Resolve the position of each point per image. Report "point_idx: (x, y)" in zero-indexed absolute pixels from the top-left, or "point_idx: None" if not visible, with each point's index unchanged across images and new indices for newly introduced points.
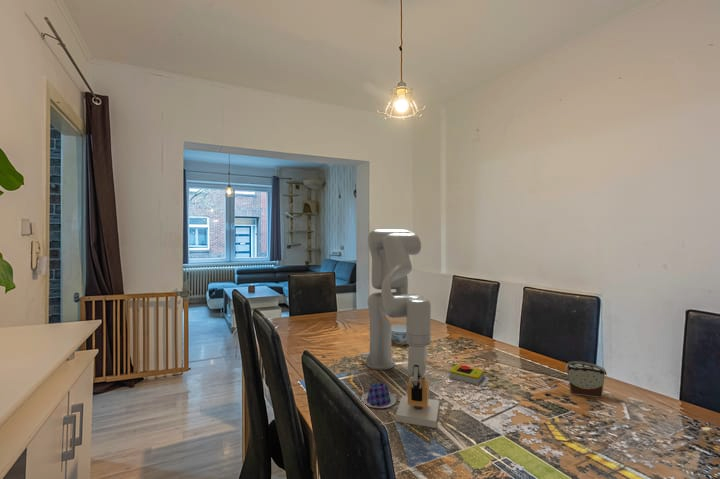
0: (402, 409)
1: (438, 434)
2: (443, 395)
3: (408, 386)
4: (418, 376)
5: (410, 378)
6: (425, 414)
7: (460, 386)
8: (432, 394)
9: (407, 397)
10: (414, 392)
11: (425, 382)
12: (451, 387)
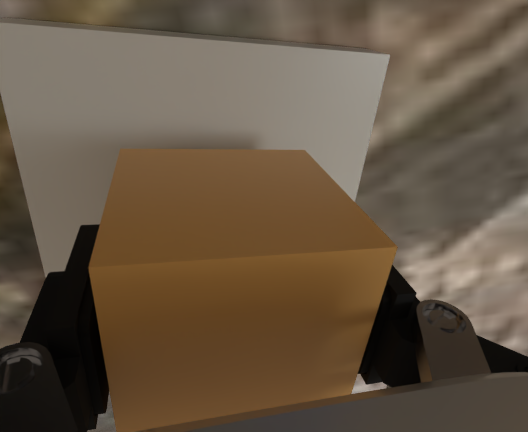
0: (123, 82)
1: (2, 315)
2: (437, 277)
3: (94, 268)
4: (393, 349)
5: (361, 256)
6: None
7: (515, 326)
8: (452, 227)
9: (352, 101)
10: (29, 326)
11: None
12: (513, 297)
